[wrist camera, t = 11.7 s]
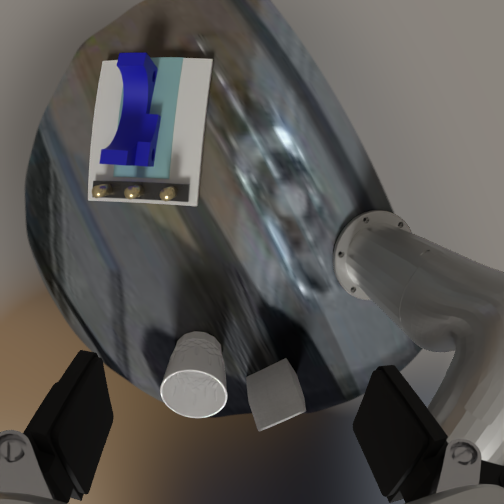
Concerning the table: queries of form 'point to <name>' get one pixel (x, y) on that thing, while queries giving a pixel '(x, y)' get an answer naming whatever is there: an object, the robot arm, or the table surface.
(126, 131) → the blue curved stepped piece
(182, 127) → the board
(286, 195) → the table surface
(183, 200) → the coat peg rack
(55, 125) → the table surface
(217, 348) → the white cup
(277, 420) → the grey box
